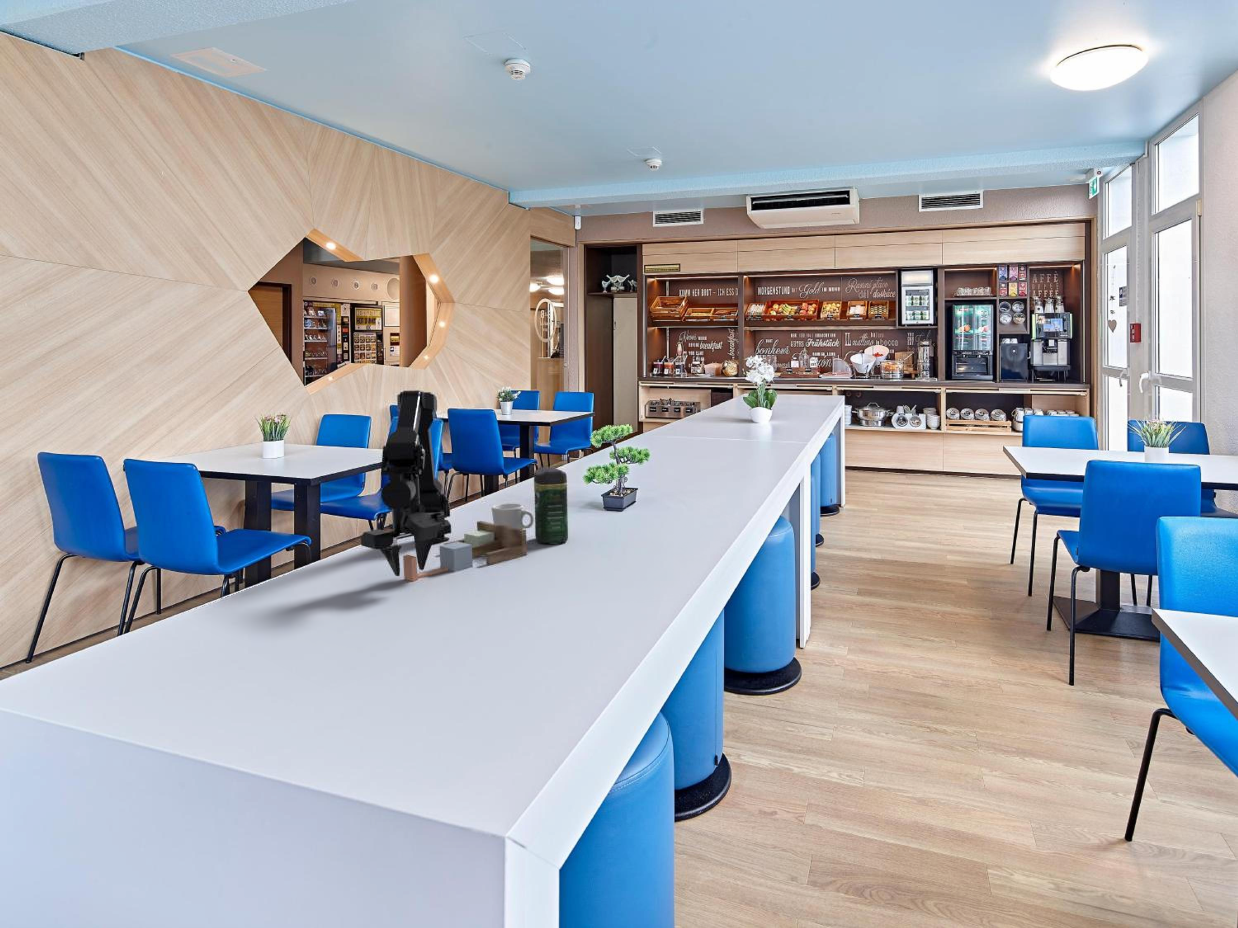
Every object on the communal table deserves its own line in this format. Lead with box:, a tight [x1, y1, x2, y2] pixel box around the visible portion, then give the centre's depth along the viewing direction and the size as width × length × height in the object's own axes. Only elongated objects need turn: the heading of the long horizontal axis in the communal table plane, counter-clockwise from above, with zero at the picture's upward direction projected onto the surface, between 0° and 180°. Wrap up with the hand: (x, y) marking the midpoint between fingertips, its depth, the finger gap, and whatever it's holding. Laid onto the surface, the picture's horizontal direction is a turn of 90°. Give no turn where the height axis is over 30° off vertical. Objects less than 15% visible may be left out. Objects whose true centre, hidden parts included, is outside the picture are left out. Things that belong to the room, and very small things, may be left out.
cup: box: [491, 502, 535, 530], centre depth 205 cm, size 11×8×8 cm
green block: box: [463, 530, 494, 546], centre depth 191 cm, size 5×5×4 cm
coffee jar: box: [533, 466, 569, 545], centre depth 200 cm, size 10×8×19 cm
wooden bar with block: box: [402, 542, 474, 582], centre depth 173 cm, size 5×15×5 cm, turn 140°
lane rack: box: [443, 520, 528, 566], centre depth 188 cm, size 16×11×6 cm
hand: (409, 572), depth 168 cm, fingers open, 6 cm apart
